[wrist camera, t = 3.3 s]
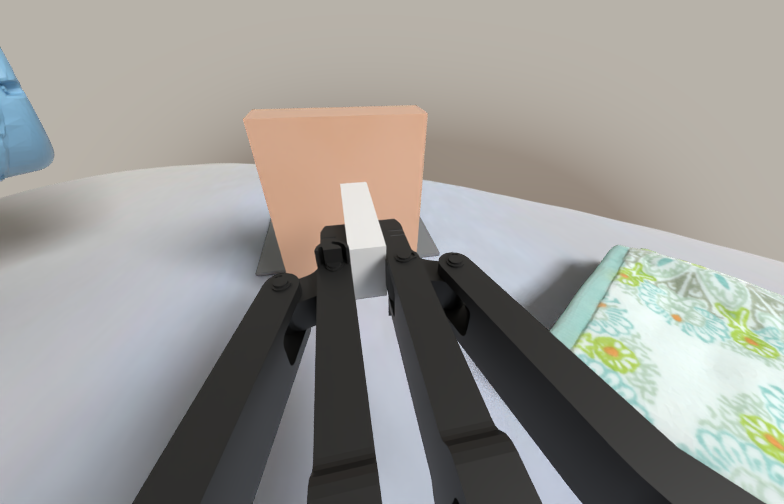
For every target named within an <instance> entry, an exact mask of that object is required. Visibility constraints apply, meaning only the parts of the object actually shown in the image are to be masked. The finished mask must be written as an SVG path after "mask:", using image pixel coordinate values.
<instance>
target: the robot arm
mask: <svg viewBox="0 0 784 504" xmlns="http://www.w3.org/2000/svg"><path fill="white" fill-rule="evenodd" d="M53 159H54V150H53V147H52V145H51V142H50V140H49V138H48V136H47V134H46V132H45V130H44V128H43V126H42V124H41V122H40V120H39V118H38V116H37V114H36V113H35V111H34V109H33V107H32V105H31V103H30V101H29V100H28V98H27V96H26V94H25V93H24V91H23V90H22V88H21V85H20V83H19V81H18V80H17V78H16V76H15V74H14V72H13V70H12V68H11V66H10V64H9V62H8V60H7V58H6V57H5V55H4V53H3V51H2V49H1V47H0V181H2V180H4V179H5V178H8V177H12V176H16V175H21V174H25V173H29V172H34V171H38V170H41V169H44V168H46V167H47V166H49V165H50V164H51V163H52V161H53ZM340 187H341V196H342V204H343V213H344V222H345V224H341V225H331V226H324V228H323V229H322V231H321V232H320V244H319V245H318V246H316V248H315V250H314V253H315V258H316V263H317V270H316V271H314V272H313V273H311V274H310V275H307V276H305V277H302V278H299V279H298V277H297V276H296V275H294V274H290V273H282V274H278V275H275V276H273V277H271V278H269V279H268V280H267V281H266V282H265V283H264V284H263V286H262V288H261V289H260V291H259V293H258V294H257V296H256V298H255V299H254V301H253V303H252V304H251V306H250V308H249V309H248V311H247V313H246V314H245V316H244V318H243V319H242V321H241V323H240V324H239V326H238V328H237V329H236V331H235V333H234V334H233V336H232V338H231V339H230V341H229V343H228V344H227V346H226V348H225V349H224V351H223V353H222V354H221V356H220V358H219V359H218V361H217V363H216V364H215V366H214V368H213V369H212V371H211V373H210V374H209V376H208V378H207V379H206V381H205V383H204V384H203V386H202V388H201V389H200V391H199V393H198V395H197V396H196V398H195V400H194V401H193V403H192V405H191V406H190V408H189V410H188V411H187V413H186V415H185V416H184V418H183V420H182V421H181V423H180V425H179V426H178V428H177V430H176V431H175V433H174V435H173V436H172V438H171V440H170V441H169V443H168V445H167V446H166V448H165V450H164V451H163V453H162V455H161V456H160V458H159V460H158V461H157V463H156V465H155V466H154V468H153V470H152V471H151V473H150V475H149V476H148V478H147V480H146V481H145V483H144V485H143V486H142V488H141V490H140V491H139V493H138V495H137V496H136V498H135V500H134V501H133V503H132V504H253V501H254V498H255V495H256V492H257V489H258V486H259V483H260V480H261V477H262V474H263V471H264V468H265V465H266V462H267V459H268V456H269V453H270V450H271V447H272V444H273V441H274V438H275V435H276V432H277V430H278V427H279V424H280V421H281V418H282V415H283V412H284V409H285V406H286V403H287V400H288V397H289V394H290V391H291V388H292V385H293V382H294V379H295V376H296V373H297V370H298V367H299V364H300V361H301V358H302V356H303V353H304V350H305V347H306V344H307V341H308V338H309V335H310V332H311V327H313V326H315V325H316V358H315V404H314V449H313V469H312V473H311V476H310V478H309V484H308V495H307V504H382V499H381V491H380V483H379V476H378V469H377V462H376V455H375V448H374V440H373V432H372V425H371V417H370V409H369V401H368V394H367V386H366V378H365V370H364V362H363V355H362V347H361V339H360V331H359V324H358V316H357V308H356V300H357V299H364V298H371V297H378V296H385V295H387V291H388V295H389V316H392V320H393V324H394V328H395V332H396V336H397V340H398V344H399V348H400V352H401V356H402V360H403V364H404V369H405V373H406V377H407V381H408V385H409V389H410V393H411V397H412V401H413V405H414V409H415V413H416V417H417V421H418V425H419V430H420V434H421V438H422V442H423V446H424V450H425V454H426V458H427V462H428V466H429V470H430V475H431V479H432V487H433V496H434V502H435V504H542V502H541V500H540V498H539V496H538V494H537V492H536V489H535V487H534V485H533V483H532V481H531V479H530V477H529V475H528V472H527V470H526V468H525V466H524V464H523V462H522V460H521V458H520V456H519V453H518V451H517V449H516V448H515V446H514V444H513V442H512V440H511V439H510V438H509V437H508V436H507V434H506V433H504V432H502V431H500V430H498V428H497V427H496V426H495V424H494V422H493V420H492V418H491V416H490V414H489V411H488V409H487V407H486V405H485V402H484V400H483V398H482V396H481V393H480V391H479V389H478V387H477V384H476V382H475V380H474V378H473V376H472V373H471V371H470V369H469V367H468V364H467V362H466V360H465V358H464V355H463V353H462V351H461V349H460V346H459V344H458V342H459V343H460V345H461V346H462V347H463V349H464V350H465V351H466V353H467V354H468V355H469V356H470V358H471V359H472V360H473V362H474V363H475V364H476V366H477V367H478V368H479V370H480V371H481V372H482V374H483V375H484V376H485V377H486V379H487V380H488V381H489V383H490V384H491V385H492V387H493V388H494V389H495V391H496V392H497V393H498V394H499V396H500V397H501V398H502V400H503V401H504V402H505V404H506V405H507V406H508V408H509V409H510V410H511V412H512V413H513V414H514V415H515V417H516V418H517V419H518V421H519V422H520V423H521V425H522V426H523V427H524V429H525V430H526V431H527V433H528V434H529V435H530V436H531V438H532V439H533V440H534V442H535V443H536V444H537V446H538V447H539V448H540V450H541V451H542V452H543V454H544V455H545V456H546V457H547V459H548V460H549V461H550V463H551V464H552V465H553V467H554V468H555V469H556V471H557V472H558V473H559V474H560V476H561V477H562V478H563V480H564V481H565V482H566V484H567V485H568V486H569V488H570V489H571V490H572V491H573V493H574V494H575V495H576V496H577V497H578V499H579V500H580V501H581V502H582V504H766V503H764V502H763V501H761V500H760V499H758V498H756V497H755V496H753V495H752V494H750V493H749V492H747V491H745V490H744V489H742V488H741V487H739V486H738V485H736V484H734V483H733V482H731V481H730V480H728V479H727V478H725V477H724V476H722V475H720V474H719V473H717V472H716V471H714V470H713V469H711V468H709V467H708V466H706V465H705V464H703V463H702V462H700V461H698V460H697V459H695V458H694V457H692V456H691V455H689V454H687V453H686V452H684V451H683V450H681V449H680V448H678V447H677V446H676V445H675V444H674V443H673V442H671V441H670V440H669V439H668V438H667V437H666V436H665V435H664V434H663V433H661V432H660V431H659V430H658V429H657V428H656V427H655V426H654V425H653V424H652V423H650V422H649V421H648V420H647V419H646V418H645V417H644V416H643V415H642V414H640V413H639V412H638V411H637V410H636V409H635V408H634V407H633V406H632V405H630V404H629V403H628V402H627V401H626V400H625V399H624V398H623V397H622V396H621V395H619V394H618V393H617V392H616V391H615V390H614V389H613V388H612V387H611V386H609V385H608V384H607V383H606V382H605V381H604V380H603V379H602V378H601V377H600V376H598V375H597V374H596V373H595V372H594V371H593V370H592V369H591V368H590V367H588V366H587V365H586V364H585V363H584V362H583V361H582V360H581V359H580V358H578V357H577V356H576V355H575V354H574V353H573V352H572V351H571V350H570V349H569V348H567V347H566V346H565V345H564V344H563V343H562V342H561V341H560V340H559V339H557V338H556V337H555V336H554V335H553V334H552V333H551V332H550V331H549V330H547V329H546V328H545V327H544V326H543V325H542V324H541V323H540V322H539V321H538V320H536V319H535V318H534V317H533V316H532V315H531V314H530V313H529V312H528V311H526V310H525V309H524V308H523V307H522V306H521V305H520V304H519V303H518V302H517V301H515V300H514V299H513V298H512V297H511V296H510V295H509V294H508V293H507V292H505V291H504V290H503V289H502V288H501V287H500V286H499V285H498V284H497V283H495V282H494V281H493V280H492V279H491V278H490V277H489V276H488V275H487V274H486V273H484V272H483V271H482V270H481V269H480V268H479V267H478V266H477V265H476V264H474V263H473V262H472V261H471V260H470V259H469V258H468V257H466V256H465V255H462V254H459V253H453V252H451V253H445V254H443V255H441V257H440V258H439V261H431V260H425V259H422V258H420V256H419V255H418V254H417V252H415V251H413V250H412V249H411V247H410V245H409V242H408V240H407V238H406V235H405V233H404V231H403V228H402V226H401V224H400V223H399V222H398V221H397V220H395V219H385V220H378V218H377V215H376V211H375V208H374V205H373V202H372V199H371V195H370V192H369V189H368V186H367V182H357V183H344V184H340ZM456 339H457V340H456ZM457 341H458V342H457Z"/></svg>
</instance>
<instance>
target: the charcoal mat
mask: <svg viewBox="0 0 784 504" xmlns="http://www.w3.org/2000/svg"><path fill="white" fill-rule="evenodd" d="M417 254H418V255H419V256H420V258H421V257H430V256H438V255H439V251H438V249H437V247H436V245H435V243H434V242H433V240H432V238H431V236H430V234H429V232H428V231H427V229H426V227H425V225H424V223H423V221H422V219H421V218H420V217H419V229H418V242H417ZM279 273H286V270H285V267H284V263H283V259H282V256H281V252H280V249H279V245H278V242H277V238H276V235H275V231H274V227H273V224H272V220H271V222H270V225H269V229H268V232H267V236H266V239H265V243H264V246H263V250H262V253H261V257H260V260H259V264H258V267H257V271H256V275H257V276H261V275H270V274H279Z"/></svg>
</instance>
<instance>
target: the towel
mask: <svg viewBox="0 0 784 504" xmlns="http://www.w3.org/2000/svg"><path fill="white" fill-rule="evenodd" d="M550 332H551V333H552V334H553V335H554V336H555V337H556V338H557V339H559V340H560V341H561V342H562V343H563V344H564V345H565V346H566V347H567V348H569V349H570V350H571V351H572V352H573V353H574V354H575V355H576V356H577V357H578V358H580V359H581V360H582V361H583V362H584V363H585V364H586V365H587V366H588V367H590V368H591V369H592V370H593V371H594V372H595V373H596V374H597V375H598V376H600V377H601V378H602V379H603V380H604V381H605V382H606V383H607V384H608V385H609V386H611V387H612V388H613V389H614V390H615V391H616V392H617V393H618V394H619V395H621V396H622V397H623V398H624V399H625V400H626V401H627V402H628V403H629V404H630V405H632V406H633V407H634V408H635V409H636V410H637V411H638V412H639V413H640V414H642V415H643V416H644V417H645V418H646V419H647V420H648V421H649V422H650V423H652V424H653V425H654V426H655V427H656V428H657V429H658V430H659V431H660V432H661V433H663V434H664V435H665V436H666V437H667V438H668V439H669V440H670V441H671V442H673V443H674V444H675V445H676V446H677V447H678V448H680V449H681V450H683V451H684V452H686V453H687V454H689V455H691V456H692V457H694V458H695V459H697V460H698V461H700V462H702V463H703V464H705V465H706V466H708V467H709V468H711V469H713V470H714V471H716V472H717V473H719V474H720V475H722V476H724V477H725V478H727V479H728V480H730V481H731V482H733V483H734V484H736V485H738V486H739V487H741V488H742V489H744V490H745V491H747V492H749V493H750V494H752V495H753V496H755V497H756V498H758V499H760V500H761V501H763V502H764V503H766V504H784V296H782V295H780V294H777V293H774V292H771V291H768V290H765V289H763V288H761V287H758V286H756V285H753V284H751V283H748V282H745V281H743V280H740V279H738V278H735V277H732V276H729V275H726V274H723V273H720V272H717V271H714V270H711V269H708V268H705V267H703V266H699V265H696V264H693V263H690V262H686V261H683V260H679V259H676V258H672V257H668V256H664V255H661V254H657V253H656V252H654V251H651V250H648V249H643V248H641V249H636V248H629V247H627V246H623V245H616V246H614V247H613V248H612V249H611V250H610V251H609V252H608V253H607V254H606V256H605V257H604V258H603V260H602V261H601V263H600V264H599V265H598V267H597V268H596V269H595V271H594V272H593V273H592V274H591V275H590V277H589V278H588V279H587V280H586V281H585V282H584V284H583V285H582V286H581V288H580V289H579V290H578V292H577V293H576V295H575V296H574V297H573V299H572V300H571V302H570V303H569V305H568V307H567V308H566V309H565V311H564V312H563V314H562V315H561V316H560V318H559V319H558V320H557V321H556V323H555V325H554V326H553V328H552V329H551V330H550Z"/></svg>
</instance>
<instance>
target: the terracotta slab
mask: <svg viewBox="0 0 784 504" xmlns="http://www.w3.org/2000/svg"><path fill="white" fill-rule="evenodd" d="M427 115H428V114H427V113H426V112H425V111H423V110H422V109H421V108H419V107H418V106H417V105H410V106H371V107H331V108H290V109H256V110H255V109H253V110H251V111H250V112H249V113H248V114H247V115H246V117H245V118H243V121H244V124H245V128H246V132H247V135H248V139H249V142H250V145H251V149H252V153H253V156H254V160H255V164H256V167H257V171H258V174H259V178H260V181H261V185H262V188H263V192H264V195H265V199H266V203H267V206H268V210H269V213H270V217H271V220H272V224H273V227H274V231H275V235H276V238H277V242H278V245H279V249H280V252H281V256H282V259H283V263H284V267H285V270H286V273H290V274H294V275H296V276H297V277H298V279H299V278H302V277H305V276H307V275H310V274H311V273H313V272H314V271H316V270H317V263H316V258H315V253H314V250H315V248H316V246H318V245H319V244H320V232H321V231H322V229H323V228H324V226H331V225H341V224H345V222H344V213H343V204H342V196H341V187H340V184H344V183H357V182H367V186H368V189H369V192H370V195H371V199H372V202H373V205H374V208H375V211H376V215H377V218H378V220H385V219H395V220H397V221H398V222H399V223H400V224H401V226H402V228H403V231H404V233H405V235H406V238H407V240H408V242H409V245H410V247H411V249H412V250H413V251H415V252H417V242H418V229H419V217H420V204H421V191H422V178H423V166H424V153H425V140H426V127H427Z"/></svg>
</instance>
